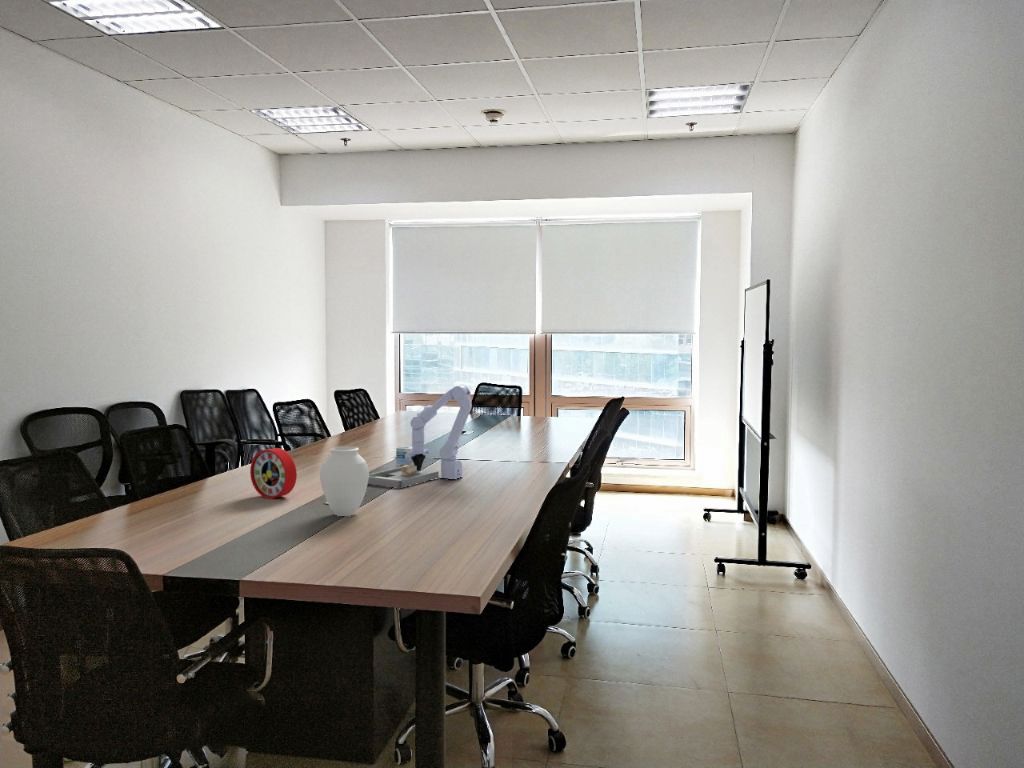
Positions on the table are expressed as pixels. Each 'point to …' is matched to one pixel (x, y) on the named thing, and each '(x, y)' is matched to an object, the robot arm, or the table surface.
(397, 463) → the light bulb box
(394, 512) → the table surface
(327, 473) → the vase
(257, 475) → the toy clock
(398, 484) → the grey tray
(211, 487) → the table surface
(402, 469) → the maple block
